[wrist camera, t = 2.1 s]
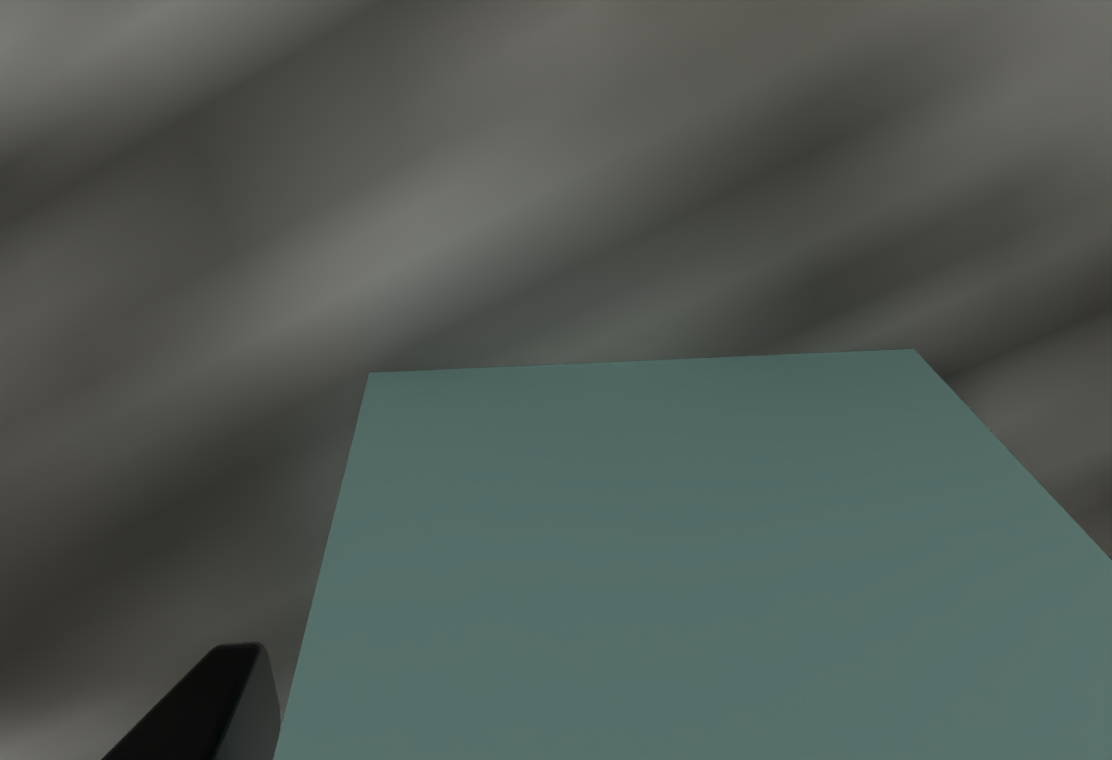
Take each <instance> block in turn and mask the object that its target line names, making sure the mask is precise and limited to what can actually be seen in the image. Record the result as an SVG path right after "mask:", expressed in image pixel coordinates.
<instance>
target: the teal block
mask: <svg viewBox="0 0 1112 760" xmlns="http://www.w3.org/2000/svg"><path fill="white" fill-rule="evenodd" d="M273 760H1112V560H1111V559H1110V558H1109V557H1108V556H1107V555H1106V553H1105V552H1104V551H1103V550H1102V549H1101V548H1100V547H1099V546H1098V545H1097V544H1096V543H1095V542H1094V541H1093V540H1092V539H1091V537H1090V536H1089V535H1088V534H1087V533H1086V532H1085V531H1084V530H1083V529H1082V528H1081V527H1080V526H1079V525H1078V524H1077V523H1076V521H1075V520H1074V519H1073V518H1072V517H1071V516H1070V515H1069V514H1068V513H1067V512H1066V511H1065V510H1064V509H1063V508H1062V507H1061V505H1060V504H1059V503H1058V502H1057V501H1056V500H1055V499H1054V498H1053V497H1052V496H1051V495H1050V494H1049V493H1048V492H1047V490H1046V489H1045V488H1044V487H1043V486H1042V485H1041V484H1040V483H1039V482H1038V481H1037V480H1036V479H1035V478H1034V477H1033V476H1032V474H1031V473H1030V472H1029V471H1028V470H1027V469H1026V468H1025V467H1024V466H1023V465H1022V464H1021V463H1020V462H1019V461H1018V460H1017V458H1016V457H1015V456H1014V455H1013V454H1012V453H1011V452H1010V451H1009V450H1008V449H1007V448H1006V447H1005V446H1004V445H1003V444H1002V442H1001V441H1000V440H999V439H998V438H997V437H996V436H995V435H994V434H993V433H992V432H991V431H990V430H989V429H988V428H987V426H986V425H985V424H984V423H983V422H982V421H981V420H980V419H979V418H978V417H977V416H976V415H975V414H974V413H973V411H972V410H971V409H970V408H969V407H968V406H967V405H966V404H965V403H964V402H963V401H962V400H961V399H960V398H959V397H958V395H957V394H956V393H955V392H954V391H953V390H952V389H951V388H950V387H949V386H948V385H947V384H946V383H945V382H944V381H943V379H942V378H941V377H940V376H939V375H938V374H937V373H936V372H935V371H934V370H933V369H932V368H931V367H930V366H929V365H928V363H927V362H926V361H925V360H924V359H923V358H922V357H921V356H920V355H919V354H918V353H917V352H916V351H915V350H914V349H895V350H872V351H849V352H827V353H804V354H781V355H758V356H735V357H713V358H690V359H667V360H644V361H621V362H599V363H576V364H553V365H530V366H508V367H485V368H462V369H439V370H416V371H394V372H371V373H369V375H368V379H367V383H366V387H365V391H364V396H363V400H362V404H361V408H360V412H359V416H358V420H357V424H356V428H355V432H354V436H353V440H352V444H351V448H350V452H349V456H348V460H347V464H346V468H345V472H344V476H343V480H342V484H341V488H340V492H339V496H338V500H337V504H336V508H335V512H334V516H333V520H332V524H331V528H330V532H329V536H328V540H327V544H326V549H325V553H324V557H323V561H322V565H321V569H320V573H319V577H318V581H317V585H316V589H315V593H314V597H313V601H312V605H311V609H310V613H309V617H308V621H307V625H306V629H305V633H304V637H303V641H302V645H301V649H300V653H299V657H298V661H297V665H296V669H295V673H294V677H293V681H292V685H291V689H290V693H289V697H288V701H287V706H286V710H285V714H284V718H283V722H282V726H281V730H280V734H279V738H278V742H277V746H276V750H275V754H274V758H273Z"/></svg>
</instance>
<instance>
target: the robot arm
mask: <svg viewBox="0 0 1112 760" xmlns="http://www.w3.org/2000/svg"><path fill="white" fill-rule="evenodd" d="M279 733H280V707H279V702H278V697H277V692H276V688H275V683H274V679H273V674H272V670H271V665H270V660H269V656H268V652H267V650H266V648H265V647H264V645H263V644H261V643H259V642H242V643H225V644H220V645H218V646H216V647H214V648H213V649H212V650H210V651H209V652H208V653H207V654H206V655H205V656H204V657H203V658H202V659H201V660H200V661H199V662H198V663H197V664H196V665H195V666H194V667H193V668H192V669H191V670H190V671H189V672H188V673H187V674H186V675H185V676H184V677H183V678H182V679H181V680H180V681H179V682H178V683H177V684H176V685H175V686H174V687H173V688H172V689H171V690H170V691H169V692H168V693H167V694H166V695H165V696H164V697H163V698H162V699H161V700H160V701H159V702H158V703H157V704H156V705H155V706H154V707H153V708H152V709H151V710H150V711H149V712H148V713H147V714H146V715H145V716H144V717H143V718H142V719H141V720H140V721H139V722H138V723H137V724H136V725H135V726H134V727H133V728H132V729H131V730H130V731H129V732H128V733H127V734H126V735H125V736H124V737H123V738H122V739H121V740H120V741H119V742H118V743H117V744H116V745H115V746H114V747H113V748H112V749H111V750H110V751H109V752H108V753H107V754H106V755H105V756H104V757H103V758H102V759H101V760H273V758H274V754H275V750H276V746H277V742H278V738H279Z"/></svg>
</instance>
